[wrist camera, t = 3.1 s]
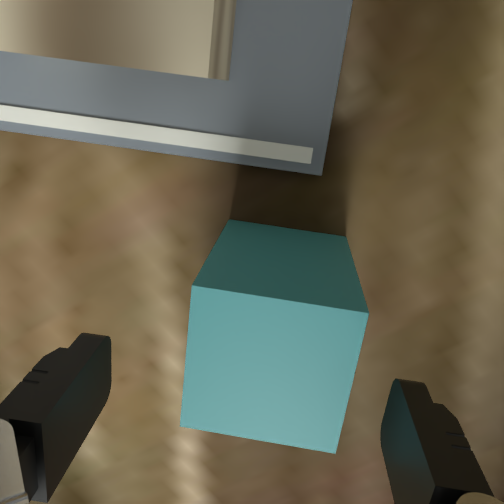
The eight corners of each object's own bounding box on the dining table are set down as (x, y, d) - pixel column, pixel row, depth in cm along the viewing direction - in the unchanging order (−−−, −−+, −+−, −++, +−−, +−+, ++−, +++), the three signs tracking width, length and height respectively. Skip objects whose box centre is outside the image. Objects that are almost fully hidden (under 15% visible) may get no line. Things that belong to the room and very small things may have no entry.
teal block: (346, 236, 19) (369, 313, 13) (324, 339, 21) (335, 453, 14) (229, 218, 19) (191, 285, 13) (217, 321, 21) (179, 426, 15)
